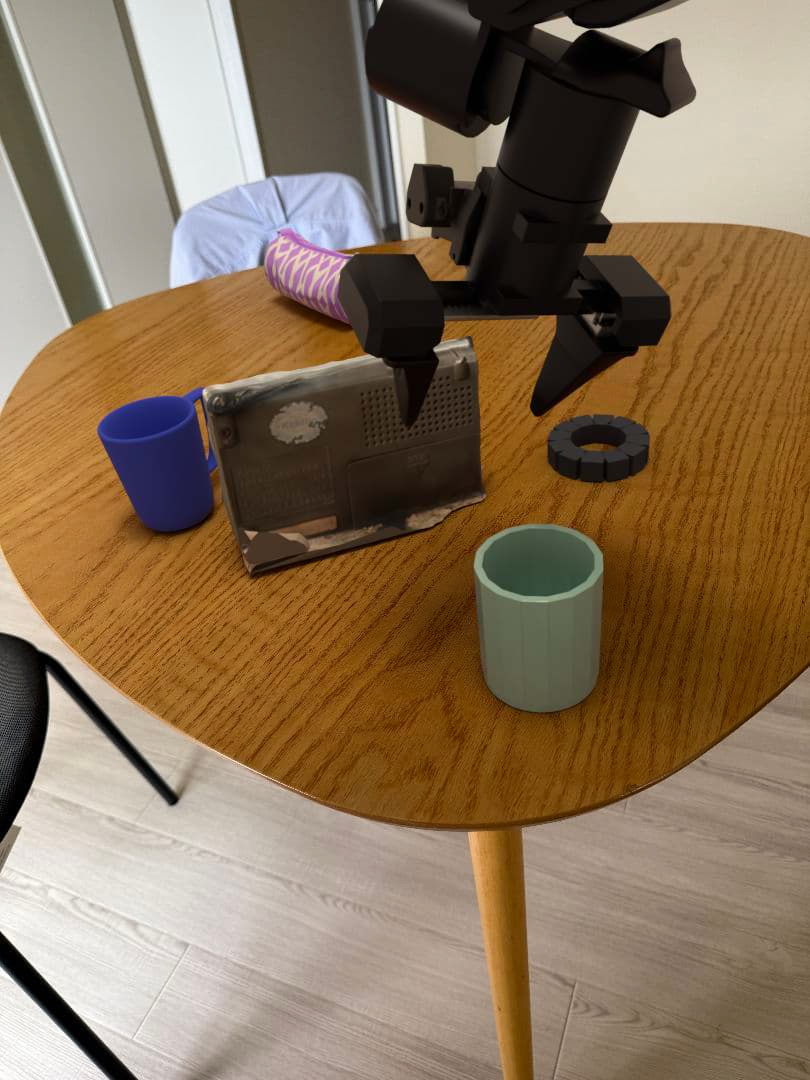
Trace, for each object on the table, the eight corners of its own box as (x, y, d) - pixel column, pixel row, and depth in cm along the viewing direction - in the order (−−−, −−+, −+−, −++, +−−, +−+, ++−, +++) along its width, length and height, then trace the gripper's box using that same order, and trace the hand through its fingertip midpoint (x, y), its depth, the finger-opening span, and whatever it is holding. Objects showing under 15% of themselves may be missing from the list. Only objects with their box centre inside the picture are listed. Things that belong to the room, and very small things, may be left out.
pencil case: (403, 315, 106) (394, 244, 101) (348, 337, 102) (335, 264, 96) (314, 285, 121) (302, 222, 116) (263, 304, 117) (248, 239, 111)
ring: (622, 425, 75) (623, 406, 74) (665, 469, 68) (667, 449, 67) (535, 443, 74) (534, 425, 73) (569, 490, 67) (569, 470, 66)
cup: (572, 620, 54) (573, 513, 49) (617, 696, 48) (625, 584, 43) (469, 644, 53) (459, 538, 48) (502, 725, 47) (496, 614, 42)
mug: (264, 476, 75) (240, 380, 69) (187, 548, 67) (152, 446, 61) (197, 465, 78) (168, 373, 73) (115, 533, 70) (75, 434, 64)
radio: (483, 465, 72) (473, 307, 63) (517, 513, 65) (511, 344, 56) (233, 524, 69) (186, 367, 60) (241, 582, 62) (190, 413, 53)
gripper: (628, 117, 47) (544, 337, 58) (328, 93, 40) (299, 347, 51) (734, 211, 40) (616, 438, 52) (397, 200, 33) (347, 463, 45)
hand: (472, 417), depth 50 cm, fingers open, 9 cm apart
